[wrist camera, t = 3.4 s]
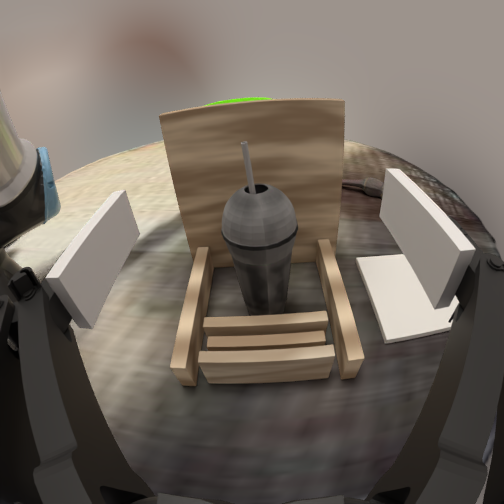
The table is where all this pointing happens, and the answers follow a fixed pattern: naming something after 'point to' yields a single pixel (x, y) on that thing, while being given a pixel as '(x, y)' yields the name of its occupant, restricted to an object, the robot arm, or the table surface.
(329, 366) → the plywood offcuts
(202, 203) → the pine rack
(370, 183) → the natural artifact
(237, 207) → the beverage cup
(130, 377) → the table surface
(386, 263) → the white tile
